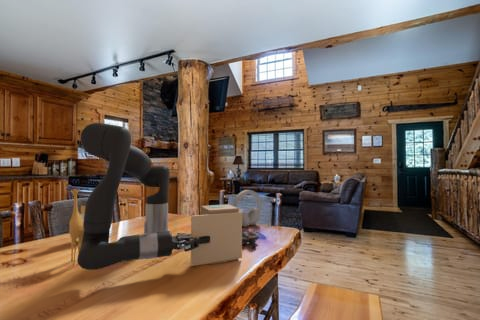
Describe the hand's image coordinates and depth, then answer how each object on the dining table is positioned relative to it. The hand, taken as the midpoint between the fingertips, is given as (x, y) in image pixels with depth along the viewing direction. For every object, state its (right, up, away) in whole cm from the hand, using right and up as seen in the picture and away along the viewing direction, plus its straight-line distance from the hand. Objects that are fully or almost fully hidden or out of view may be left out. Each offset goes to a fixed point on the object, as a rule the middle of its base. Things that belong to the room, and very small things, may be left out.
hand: (208, 238), depth 86 cm
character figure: (-57, -9, +28) cm, 64 cm away
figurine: (+9, -10, +30) cm, 33 cm away
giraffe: (-47, -9, +4) cm, 48 cm away
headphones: (+15, -11, +56) cm, 59 cm away
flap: (+3, -8, +1) cm, 9 cm away
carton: (+3, -9, +8) cm, 12 cm away
